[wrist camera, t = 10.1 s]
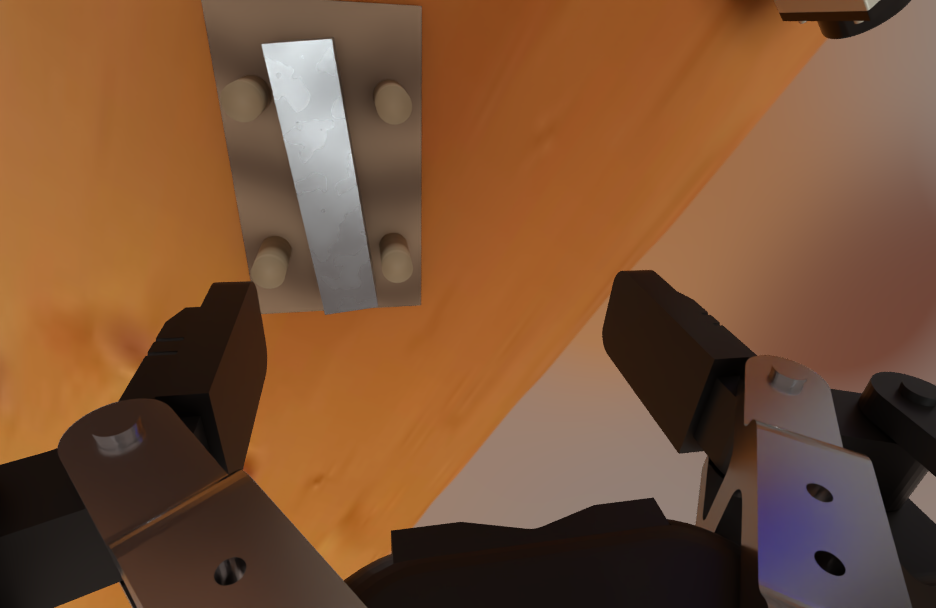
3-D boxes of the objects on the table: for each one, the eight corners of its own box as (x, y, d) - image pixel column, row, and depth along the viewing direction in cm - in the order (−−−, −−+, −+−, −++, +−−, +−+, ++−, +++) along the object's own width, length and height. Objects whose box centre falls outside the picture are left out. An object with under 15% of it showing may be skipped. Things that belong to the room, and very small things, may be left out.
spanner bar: (272, 41, 29) (261, 44, 26) (333, 36, 30) (331, 38, 26) (327, 287, 37) (325, 314, 34) (375, 280, 37) (377, 306, 34)
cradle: (205, -7, 28) (178, -12, 24) (419, 6, 31) (430, 3, 26) (259, 306, 38) (246, 344, 33) (419, 297, 40) (427, 332, 36)
